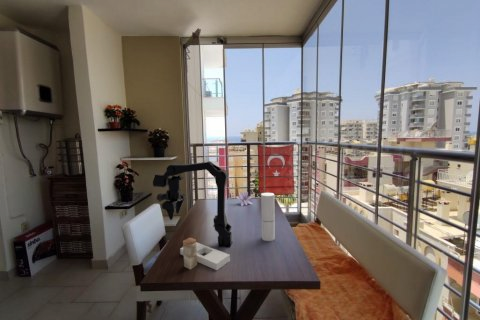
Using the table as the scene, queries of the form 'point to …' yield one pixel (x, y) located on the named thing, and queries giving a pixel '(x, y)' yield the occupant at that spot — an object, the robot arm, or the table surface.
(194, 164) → the robot arm
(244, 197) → the water lily
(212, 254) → the white slotted block
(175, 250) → the table surface
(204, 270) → the table surface
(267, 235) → the cylindrical container
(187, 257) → the wooden peg
